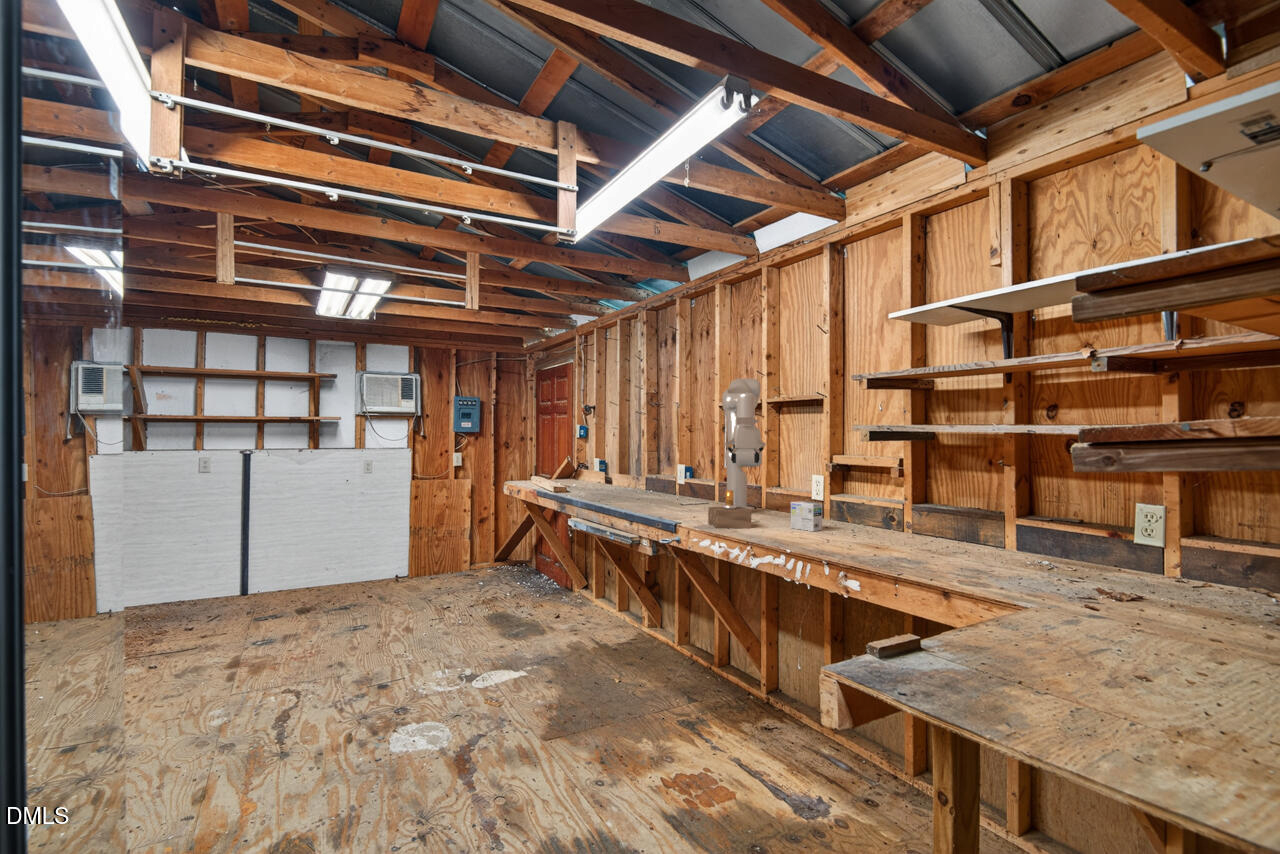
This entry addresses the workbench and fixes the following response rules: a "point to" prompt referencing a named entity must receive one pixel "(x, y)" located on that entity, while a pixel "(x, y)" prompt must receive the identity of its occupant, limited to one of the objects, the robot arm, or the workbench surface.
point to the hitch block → (729, 517)
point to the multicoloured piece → (729, 501)
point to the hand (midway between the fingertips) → (745, 462)
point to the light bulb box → (806, 516)
